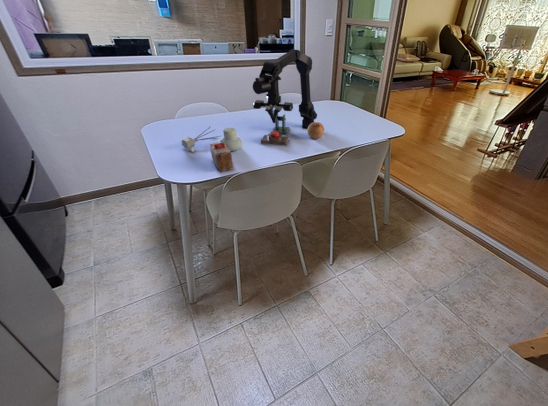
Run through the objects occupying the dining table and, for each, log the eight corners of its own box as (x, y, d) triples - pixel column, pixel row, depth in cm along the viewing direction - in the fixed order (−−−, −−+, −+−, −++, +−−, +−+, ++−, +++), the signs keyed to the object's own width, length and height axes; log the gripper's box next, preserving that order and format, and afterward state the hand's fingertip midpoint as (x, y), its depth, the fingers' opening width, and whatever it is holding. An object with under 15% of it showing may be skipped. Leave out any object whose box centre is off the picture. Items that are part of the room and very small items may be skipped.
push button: (279, 134, 151) (279, 131, 150) (278, 137, 148) (277, 134, 147) (271, 134, 152) (271, 130, 151) (269, 137, 148) (269, 133, 147)
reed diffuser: (176, 135, 135) (211, 121, 148) (177, 146, 140) (211, 132, 153) (191, 148, 133) (225, 133, 146) (191, 159, 138) (224, 143, 152)
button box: (288, 140, 155) (288, 133, 153) (285, 146, 148) (285, 138, 146) (264, 138, 155) (264, 131, 153) (261, 144, 148) (260, 136, 146)
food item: (210, 160, 130) (206, 139, 125) (228, 157, 134) (225, 136, 128) (218, 172, 120) (214, 150, 115) (236, 169, 124) (234, 147, 119)
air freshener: (244, 151, 140) (241, 131, 134) (227, 154, 136) (224, 134, 130) (236, 143, 147) (234, 124, 141) (220, 146, 143) (217, 127, 137)
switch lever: (281, 120, 152) (281, 115, 151) (270, 119, 152) (270, 114, 151) (285, 121, 163) (286, 116, 163) (275, 120, 163) (275, 116, 163)
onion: (318, 145, 159) (320, 132, 151) (303, 138, 160) (305, 125, 152) (325, 134, 164) (328, 122, 156) (311, 128, 165) (313, 114, 156)
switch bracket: (285, 135, 162) (285, 118, 156) (271, 133, 162) (271, 117, 157) (289, 129, 170) (288, 113, 165) (275, 128, 170) (275, 112, 165)
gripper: (294, 88, 144) (294, 119, 152) (257, 85, 144) (260, 116, 153) (290, 93, 134) (291, 126, 143) (251, 90, 135) (254, 123, 144)
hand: (274, 122), depth 146 cm, fingers closed
